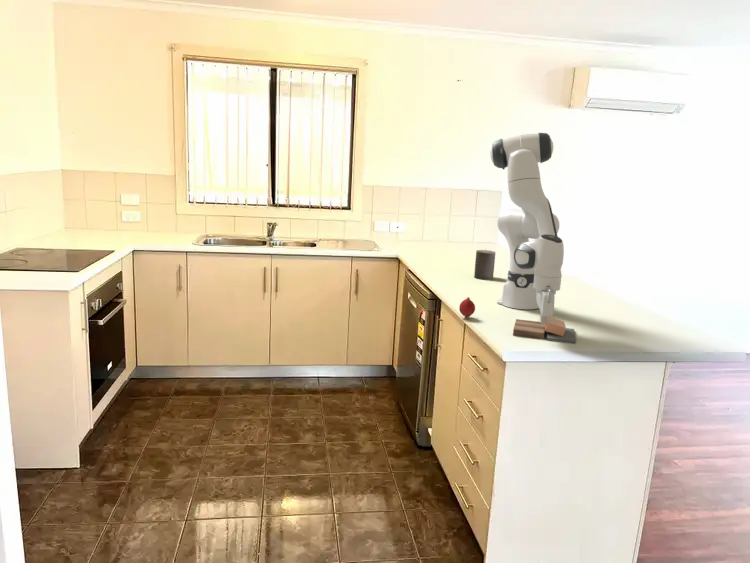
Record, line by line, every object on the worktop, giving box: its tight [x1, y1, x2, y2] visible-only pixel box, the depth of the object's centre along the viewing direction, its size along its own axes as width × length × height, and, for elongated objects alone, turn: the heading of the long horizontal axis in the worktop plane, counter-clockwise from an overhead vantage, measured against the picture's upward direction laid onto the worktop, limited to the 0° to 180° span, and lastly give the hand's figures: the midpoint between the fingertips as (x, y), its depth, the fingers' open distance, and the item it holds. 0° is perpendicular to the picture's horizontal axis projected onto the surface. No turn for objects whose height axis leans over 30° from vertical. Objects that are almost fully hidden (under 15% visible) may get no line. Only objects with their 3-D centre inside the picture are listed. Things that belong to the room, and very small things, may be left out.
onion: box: [458, 296, 476, 319], centre depth 209 cm, size 6×6×8 cm
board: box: [512, 318, 545, 340], centre depth 195 cm, size 14×10×2 cm
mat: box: [546, 327, 577, 344], centre depth 191 cm, size 15×9×1 cm, turn 163°
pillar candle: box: [473, 249, 496, 281], centre depth 285 cm, size 10×10×15 cm
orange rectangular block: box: [544, 316, 567, 336], centre depth 192 cm, size 9×6×3 cm, turn 166°
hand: (543, 322), depth 193 cm, fingers closed
